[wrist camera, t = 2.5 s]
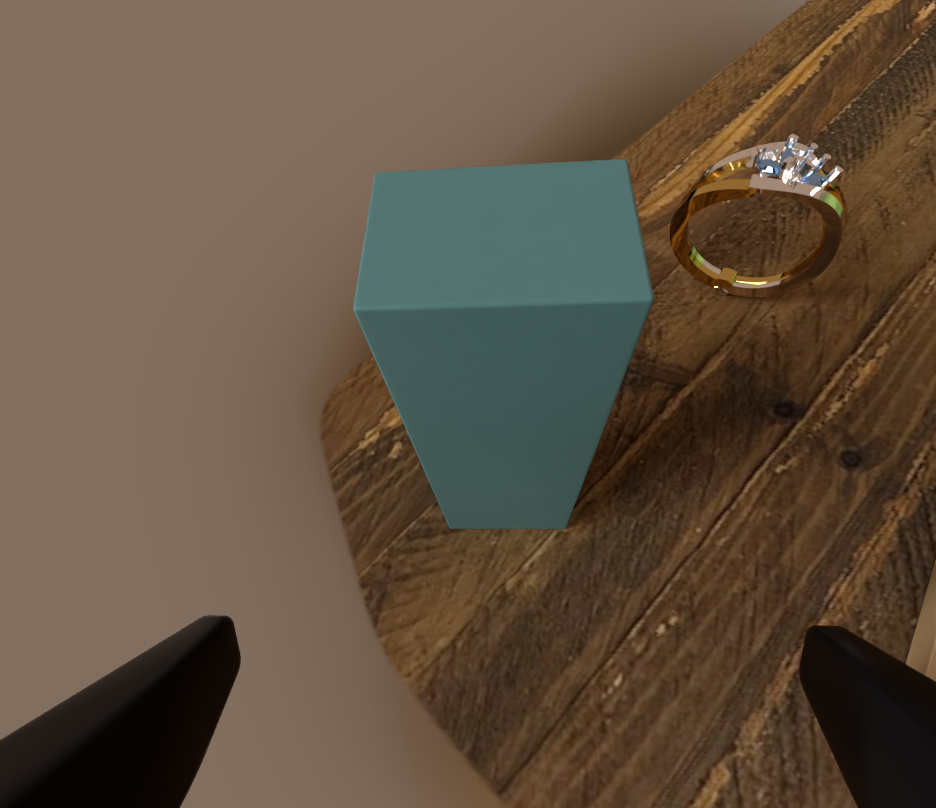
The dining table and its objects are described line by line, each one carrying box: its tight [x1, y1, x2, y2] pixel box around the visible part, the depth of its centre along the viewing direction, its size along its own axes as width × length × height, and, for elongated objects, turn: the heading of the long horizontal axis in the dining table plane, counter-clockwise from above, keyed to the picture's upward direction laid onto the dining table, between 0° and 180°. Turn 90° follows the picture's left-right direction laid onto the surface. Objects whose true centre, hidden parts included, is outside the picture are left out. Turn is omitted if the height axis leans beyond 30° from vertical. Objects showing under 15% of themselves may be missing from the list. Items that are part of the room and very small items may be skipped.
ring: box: [670, 134, 847, 297], centre depth 23 cm, size 7×3×8 cm, turn 58°
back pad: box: [353, 159, 654, 529], centre depth 16 cm, size 4×5×15 cm
